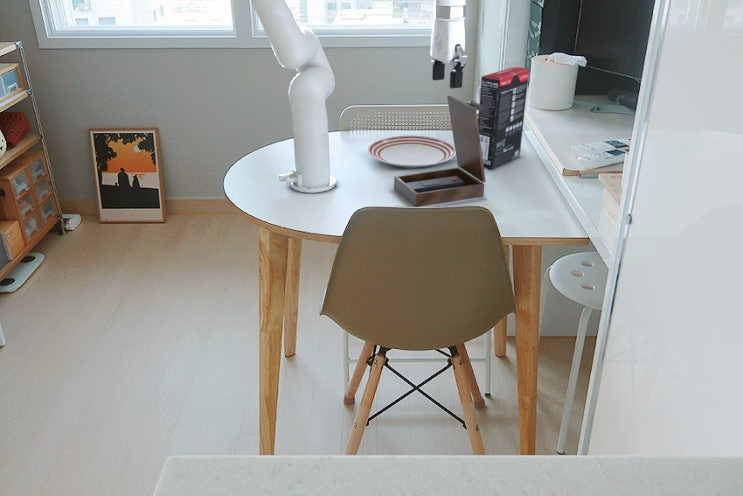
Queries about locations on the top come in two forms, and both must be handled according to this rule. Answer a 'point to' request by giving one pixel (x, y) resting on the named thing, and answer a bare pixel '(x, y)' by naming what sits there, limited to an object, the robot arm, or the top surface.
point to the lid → (467, 136)
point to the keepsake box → (468, 191)
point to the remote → (436, 184)
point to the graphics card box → (502, 115)
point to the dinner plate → (412, 151)
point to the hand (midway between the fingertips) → (446, 83)
